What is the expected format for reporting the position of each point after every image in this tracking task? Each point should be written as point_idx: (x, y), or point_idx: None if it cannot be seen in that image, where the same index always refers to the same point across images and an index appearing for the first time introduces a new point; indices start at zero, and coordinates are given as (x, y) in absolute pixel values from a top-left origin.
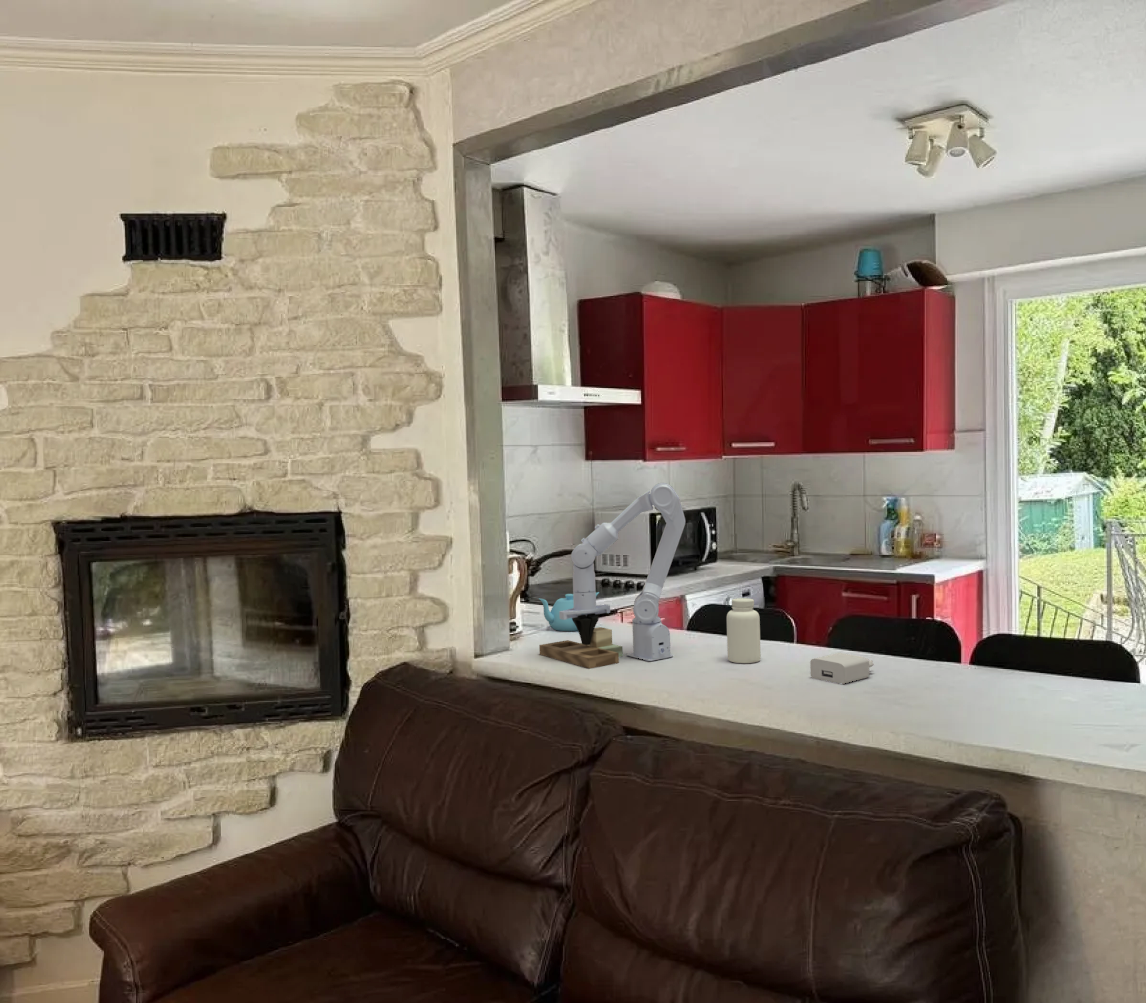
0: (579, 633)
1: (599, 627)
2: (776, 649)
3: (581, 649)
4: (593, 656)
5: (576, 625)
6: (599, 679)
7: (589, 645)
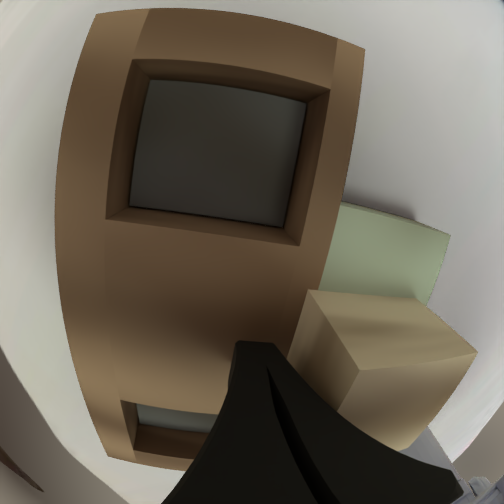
0: (227, 396)
1: (465, 363)
2: (457, 445)
3: (178, 369)
4: (135, 458)
5: (191, 472)
6: (91, 467)
7: (294, 340)
